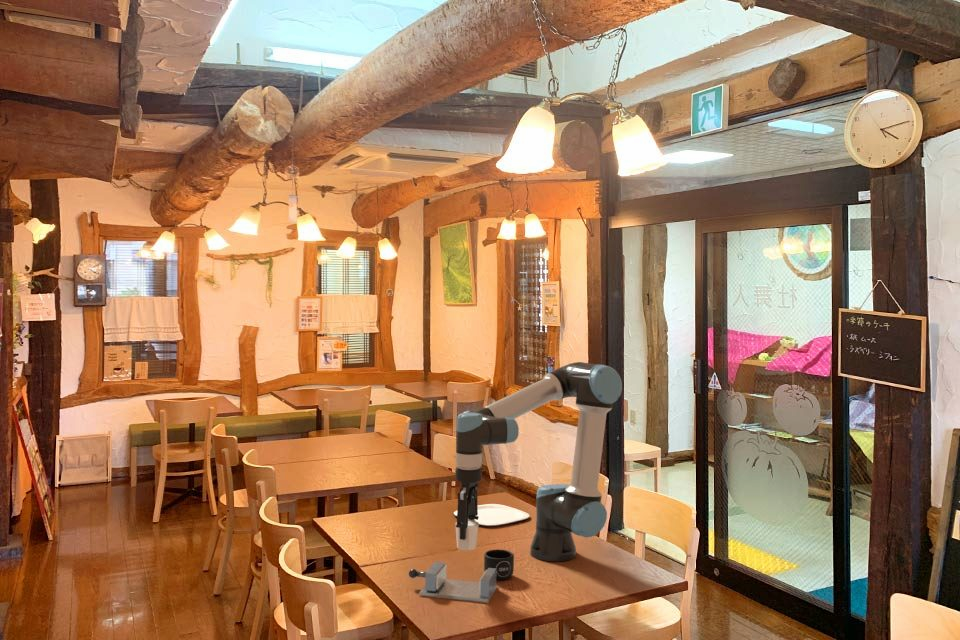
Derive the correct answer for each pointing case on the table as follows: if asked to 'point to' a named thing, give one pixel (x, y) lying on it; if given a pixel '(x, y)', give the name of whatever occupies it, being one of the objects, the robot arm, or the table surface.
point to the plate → (498, 515)
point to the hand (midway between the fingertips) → (466, 545)
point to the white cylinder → (470, 534)
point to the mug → (500, 563)
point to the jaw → (432, 576)
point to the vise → (466, 588)
